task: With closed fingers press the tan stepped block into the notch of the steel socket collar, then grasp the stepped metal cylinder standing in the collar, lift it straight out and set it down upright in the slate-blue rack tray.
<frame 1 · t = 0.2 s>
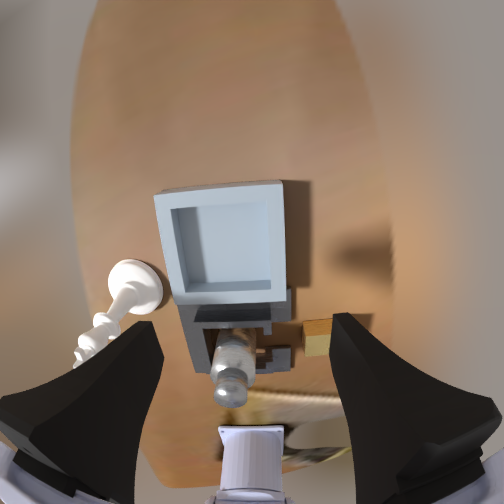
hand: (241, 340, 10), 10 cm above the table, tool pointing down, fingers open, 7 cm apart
tan stepped block: (327, 337, 21), point 1 cm above the table, slide at 0.0 cm
chess piece: (136, 285, 21), on the table
stepped metal cylinder: (234, 363, 19), in the socket
socket: (237, 334, 23), on the table
rack tray: (225, 240, 19), on the table
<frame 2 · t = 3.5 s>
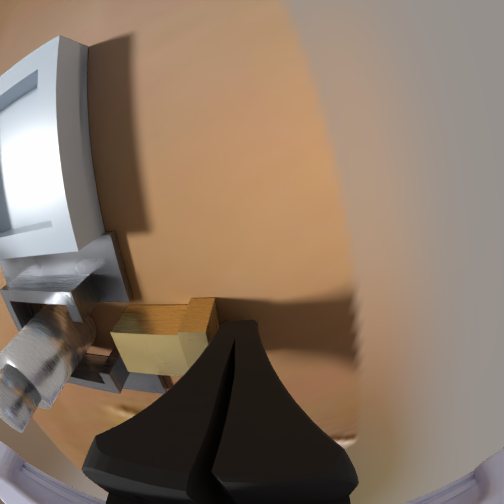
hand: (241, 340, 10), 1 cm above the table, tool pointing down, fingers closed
tan stepped block: (168, 341, 10), point 1 cm above the table, slide at 1.4 cm, touching gripper
stepped metal cylinder: (38, 362, 8), in the socket
socket: (71, 321, 12), on the table
rack tray: (27, 159, 9), on the table
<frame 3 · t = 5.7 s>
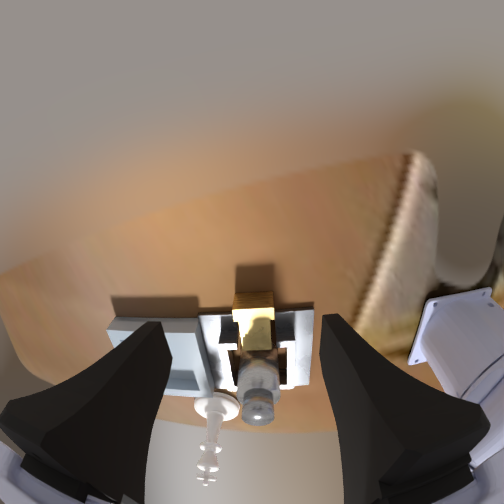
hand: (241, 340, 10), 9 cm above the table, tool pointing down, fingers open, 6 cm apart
tan stepped block: (255, 322, 20), point 1 cm above the table, slide at 3.3 cm
chess piece: (217, 403, 26), on the table
stepped metal cylinder: (258, 382, 19), in the socket
socket: (259, 352, 23), on the table
rack tray: (166, 352, 23), on the table
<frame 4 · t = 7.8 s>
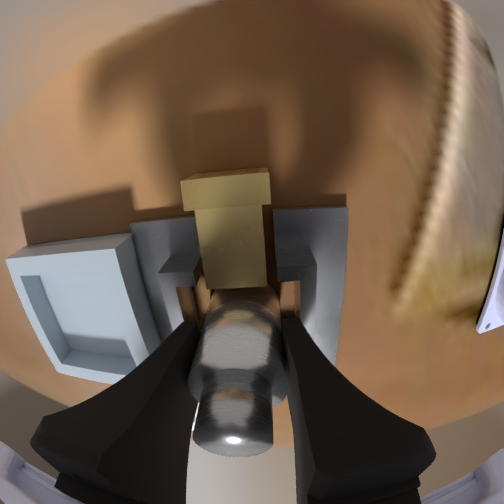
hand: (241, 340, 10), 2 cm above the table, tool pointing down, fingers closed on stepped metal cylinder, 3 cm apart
tan stepped block: (232, 227, 10), point 1 cm above the table, slide at 3.3 cm
stepped metal cylinder: (240, 359, 9), in the socket, touching gripper
socket: (244, 306, 13), on the table
rack tray: (92, 307, 13), on the table
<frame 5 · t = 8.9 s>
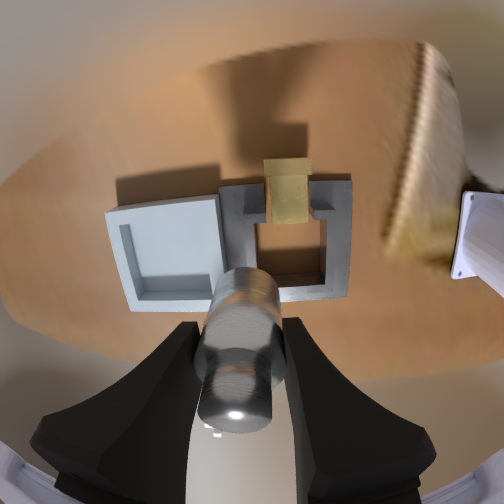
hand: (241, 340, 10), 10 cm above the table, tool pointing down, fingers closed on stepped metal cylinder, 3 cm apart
tan stepped block: (287, 189, 17), point 1 cm above the table, slide at 3.3 cm
stepped metal cylinder: (242, 342, 10), point 10 cm above the table, touching gripper
socket: (288, 244, 19), on the table
rack tray: (173, 252, 20), on the table
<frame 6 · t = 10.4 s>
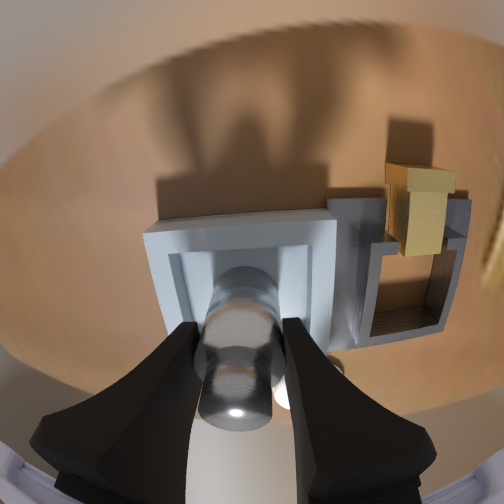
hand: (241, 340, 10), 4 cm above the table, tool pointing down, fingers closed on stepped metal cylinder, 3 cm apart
tan stepped block: (418, 208, 11), point 1 cm above the table, slide at 3.3 cm
chess piece: (308, 382, 17), on the table
stepped metal cylinder: (241, 341, 10), in the rack tray, point 4 cm above the table, touching gripper
socket: (399, 276, 14), on the table
rack tray: (246, 289, 14), on the table
when the fingers open (4 cm above the table, at t = 10.7 s): stepped metal cylinder stays where it is, resting on rack tray.
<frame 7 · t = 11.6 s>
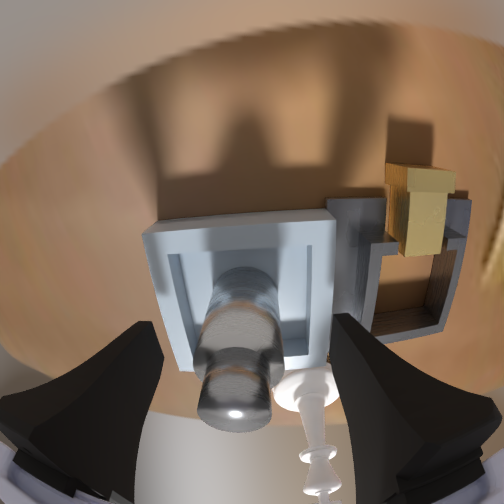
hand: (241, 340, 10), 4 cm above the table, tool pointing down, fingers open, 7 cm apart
tan stepped block: (418, 208, 11), point 1 cm above the table, slide at 3.3 cm
chess piece: (307, 382, 17), on the table
stepped metal cylinder: (240, 342, 10), in the rack tray, point 4 cm above the table
socket: (399, 277, 14), on the table
rack tray: (246, 289, 14), on the table
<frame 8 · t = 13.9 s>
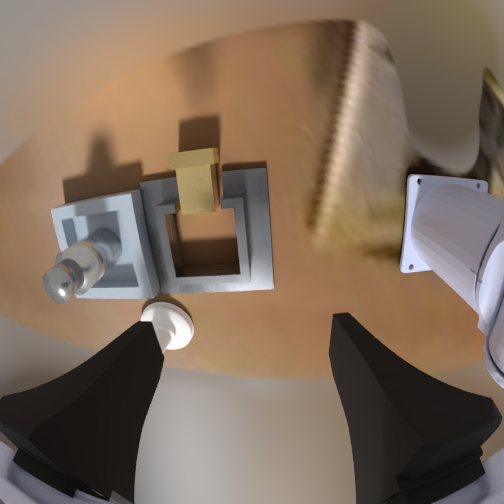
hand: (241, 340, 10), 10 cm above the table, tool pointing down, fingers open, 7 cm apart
tan stepped block: (197, 180, 17), point 1 cm above the table, slide at 3.3 cm
chess piece: (168, 323, 23), on the table
stepped metal cylinder: (82, 264, 16), in the rack tray, point 4 cm above the table
socket: (208, 235, 20), on the table
rack tray: (109, 243, 20), on the table
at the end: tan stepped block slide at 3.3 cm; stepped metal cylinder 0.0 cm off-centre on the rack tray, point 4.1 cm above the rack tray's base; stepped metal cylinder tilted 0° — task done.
